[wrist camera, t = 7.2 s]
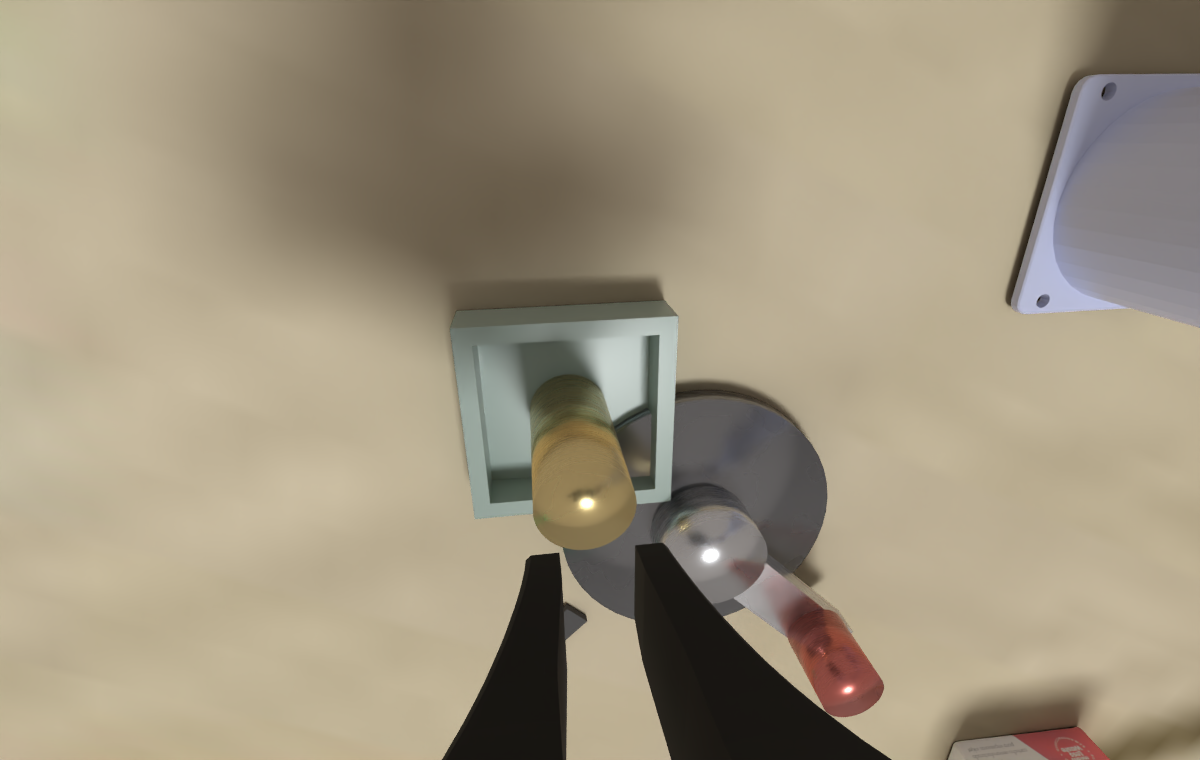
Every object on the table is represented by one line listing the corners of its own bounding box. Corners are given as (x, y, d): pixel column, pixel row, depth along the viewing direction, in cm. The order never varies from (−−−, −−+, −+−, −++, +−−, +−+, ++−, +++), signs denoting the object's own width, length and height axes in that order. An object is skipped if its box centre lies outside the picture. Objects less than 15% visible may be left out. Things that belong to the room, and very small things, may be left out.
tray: (664, 300, 20) (678, 316, 18) (658, 473, 22) (670, 501, 21) (456, 310, 19) (449, 328, 17) (478, 488, 22) (474, 519, 20)
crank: (629, 535, 22) (652, 621, 18) (703, 468, 21) (744, 543, 17) (786, 647, 26) (834, 739, 22) (854, 595, 25) (916, 680, 21)
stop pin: (614, 382, 20) (649, 472, 15) (595, 448, 21) (620, 555, 16) (539, 367, 20) (546, 455, 14) (522, 436, 21) (522, 543, 15)
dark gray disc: (833, 380, 22) (847, 391, 21) (798, 593, 26) (807, 609, 25) (553, 400, 21) (554, 412, 20) (565, 619, 25) (567, 638, 24)
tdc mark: (566, 603, 25) (567, 609, 24) (586, 616, 25) (587, 621, 25) (507, 656, 25) (507, 662, 25) (527, 667, 26) (527, 673, 26)
